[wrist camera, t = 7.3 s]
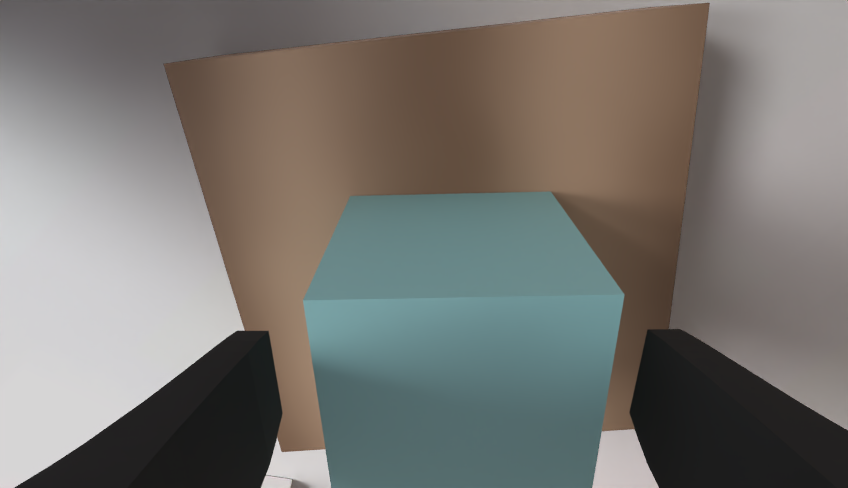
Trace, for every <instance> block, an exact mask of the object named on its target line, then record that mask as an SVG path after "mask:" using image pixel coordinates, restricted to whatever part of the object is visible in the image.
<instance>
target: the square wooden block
mask: <svg viewBox="0 0 848 488" xmlns="http://www.w3.org/2000/svg"><path fill="white" fill-rule="evenodd" d="M709 4H710V3H701V4H687V5H674V6H660V7H648V8H640V9H631V10H622V11H613V12H604V13H595V14H586V15H577V16H568V17H559V18H550V19H541V20H532V21H523V22H514V23H506V24H497V25H488V26H479V27H470V28H461V29H452V30H443V31H434V32H425V33H416V34H407V35H398V36H389V37H381V38H372V39H363V40H354V41H345V42H336V43H327V44H318V45H309V46H300V47H291V48H282V49H273V50H264V51H256V52H247V53H238V54H229V55H220V56H212V57H206V58H199V59H192V60H186V61H179V62H172V63H166V64H164V67H165V71H166V74H167V77H168V80H169V84H170V87H171V90H172V93H173V97H174V100H175V103H176V107H177V110H178V113H179V116H180V120H181V123H182V126H183V129H184V133H185V136H186V139H187V143H188V146H189V149H190V152H191V156H192V159H193V162H194V166H195V169H196V172H197V175H198V179H199V182H200V185H201V188H202V192H203V195H204V198H205V202H206V205H207V208H208V211H209V215H210V218H211V221H212V225H213V228H214V231H215V234H216V238H217V241H218V244H219V247H220V251H221V254H222V257H223V261H224V264H225V267H226V270H227V274H228V277H229V280H230V284H231V287H232V290H233V293H234V297H235V300H236V303H237V306H238V310H239V313H240V316H241V320H242V323H243V326H244V329H245V331H269V336H270V342H271V347H272V353H273V359H274V365H275V371H276V377H277V382H278V388H279V394H280V400H281V406H282V412H283V414H282V418H281V422H280V426H279V431H278V435H277V438H278V441H279V444H280V447H281V451H282V452H289V451H304V450H320V449H325V442H324V436H323V429H322V423H321V416H320V410H319V403H318V396H317V390H316V383H315V377H314V370H313V364H312V357H311V350H310V344H309V337H308V331H307V324H306V318H305V311H304V305H303V299H304V297H305V295H306V292H307V290H308V288H309V286H310V284H311V281H312V279H313V277H314V275H315V273H316V270H317V268H318V266H319V264H320V262H321V259H322V257H323V255H324V253H325V251H326V248H327V246H328V244H329V242H330V239H331V237H332V235H333V233H334V231H335V228H336V226H337V224H338V222H339V220H340V217H341V215H342V213H343V211H344V209H345V206H346V204H347V202H348V200H349V198H350V196H373V195H418V194H463V193H507V192H552V194H553V195H554V197H555V198H556V199H557V201H558V202H559V204H560V205H561V206H562V208H563V209H564V211H565V212H566V213H567V215H568V216H569V218H570V219H571V220H572V222H573V223H574V225H575V226H576V227H577V229H578V230H579V232H580V233H581V234H582V236H583V237H584V239H585V240H586V241H587V243H588V244H589V246H590V247H591V248H592V250H593V251H594V253H595V254H596V255H597V257H598V258H599V260H600V261H601V262H602V264H603V265H604V267H605V268H606V269H607V271H608V272H609V274H610V275H611V276H612V278H613V279H614V281H615V282H616V283H617V285H618V286H619V288H620V289H621V290H622V292H623V293H624V301H623V307H622V313H621V319H620V325H619V331H618V337H617V342H616V348H615V354H614V360H613V366H612V372H611V378H610V384H609V390H608V396H607V402H606V408H605V414H604V420H603V426H602V431H611V430H626V429H635V428H634V425H633V422H632V419H631V416H630V413H629V412H630V407H631V402H632V398H633V393H634V389H635V384H636V380H637V375H638V370H639V366H640V361H641V357H642V352H643V347H644V343H645V338H646V334H647V329H669V322H670V314H671V306H672V298H673V290H674V282H675V274H676V266H677V258H678V250H679V242H680V235H681V227H682V219H683V211H684V203H685V195H686V187H687V179H688V171H689V163H690V155H691V147H692V139H693V131H694V123H695V115H696V108H697V100H698V92H699V84H700V76H701V68H702V60H703V52H704V44H705V36H706V28H707V20H708V12H709Z"/></svg>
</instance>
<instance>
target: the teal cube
mask: <svg viewBox="0 0 848 488" xmlns="http://www.w3.org/2000/svg"><path fill="white" fill-rule="evenodd" d="M623 301H624V293H623V292H622V290H621V289H620V288H619V286H618V285H617V283H616V282H615V281H614V279H613V278H612V276H611V275H610V274H609V272H608V271H607V269H606V268H605V267H604V265H603V264H602V262H601V261H600V260H599V258H598V257H597V255H596V254H595V253H594V251H593V250H592V248H591V247H590V246H589V244H588V243H587V241H586V240H585V239H584V237H583V236H582V234H581V233H580V232H579V230H578V229H577V227H576V226H575V225H574V223H573V222H572V220H571V219H570V218H569V216H568V215H567V213H566V212H565V211H564V209H563V208H562V206H561V205H560V204H559V202H558V201H557V199H556V198H555V197H554V195H553V194H552V192H507V193H463V194H418V195H373V196H350V198H349V200H348V202H347V204H346V206H345V209H344V211H343V213H342V215H341V217H340V220H339V222H338V224H337V226H336V228H335V231H334V233H333V235H332V237H331V239H330V242H329V244H328V246H327V248H326V251H325V253H324V255H323V257H322V259H321V262H320V264H319V266H318V268H317V270H316V273H315V275H314V277H313V279H312V281H311V284H310V286H309V288H308V290H307V292H306V295H305V297H304V299H303V305H304V311H305V318H306V324H307V331H308V337H309V344H310V350H311V357H312V364H313V370H314V377H315V383H316V390H317V396H318V403H319V410H320V416H321V423H322V429H323V436H324V442H325V449H326V455H327V462H328V469H329V475H330V482H331V488H592V485H593V479H594V473H595V467H596V461H597V455H598V449H599V444H600V438H601V432H602V426H603V420H604V414H605V408H606V402H607V396H608V390H609V384H610V378H611V372H612V366H613V360H614V354H615V348H616V342H617V337H618V331H619V325H620V319H621V313H622V307H623Z"/></svg>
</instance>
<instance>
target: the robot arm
mask: <svg viewBox="0 0 848 488" xmlns="http://www.w3.org/2000/svg"><path fill="white" fill-rule="evenodd" d="M629 413H630V416H631V419H632V422H633V425H634V428H635V431H636V434H637V437H638V440H639V442H640V445H641V448H642V450H643V453H644V456H645V458H646V461H647V464H648V466H649V468H650V470H651V472H652V474H653V476H654V478H655V480H656V482H657V484H658V486H659V488H848V430H846V429H844V428H842V427H841V426H839V425H837V424H835V423H834V422H832V421H830V420H829V419H827V418H825V417H823V416H822V415H820V414H818V413H817V412H815V411H813V410H812V409H810V408H808V407H807V406H805V405H803V404H802V403H800V402H798V401H797V400H795V399H793V398H792V397H790V396H789V395H787V394H785V393H784V392H782V391H780V390H779V389H777V388H776V387H774V386H772V385H771V384H769V383H768V382H766V381H764V380H763V379H761V378H760V377H758V376H756V375H755V374H753V373H752V372H750V371H749V370H747V369H745V368H744V367H742V366H741V365H739V364H737V363H736V362H734V361H733V360H731V359H729V358H728V357H726V356H725V355H723V354H721V353H720V352H718V351H717V350H715V349H713V348H712V347H710V346H709V345H707V344H705V343H704V342H702V341H700V340H699V339H697V338H695V337H693V336H692V335H690V334H688V333H686V332H684V331H682V330H680V329H647V334H646V338H645V343H644V347H643V352H642V357H641V361H640V366H639V370H638V375H637V380H636V384H635V389H634V393H633V398H632V402H631V407H630V412H629ZM282 414H283V412H282V406H281V400H280V394H279V388H278V382H277V377H276V371H275V365H274V359H273V353H272V347H271V342H270V336H269V331H236V332H235V333H233V334H232V335H230V336H229V337H227V338H226V339H225V340H223V341H222V342H221V343H219V344H218V345H217V346H215V347H214V348H213V349H212V350H210V351H209V352H208V353H206V354H205V355H204V356H203V357H201V358H200V359H199V360H197V361H196V362H195V363H194V364H192V365H191V366H190V367H188V368H187V369H186V370H185V371H183V372H182V373H181V374H179V375H178V376H177V377H175V378H174V379H173V380H171V381H170V382H169V383H168V384H166V385H165V386H164V387H162V388H161V389H160V390H158V391H157V392H156V393H154V394H153V395H152V396H151V397H149V398H148V399H147V400H145V401H144V402H142V403H141V404H140V405H138V406H137V407H135V408H134V409H133V410H131V411H130V412H128V413H127V414H125V415H124V416H123V417H121V418H120V419H118V420H117V421H116V422H114V423H113V424H111V425H110V426H109V427H107V428H106V429H104V430H103V431H101V432H100V433H99V434H97V435H96V436H94V437H93V438H92V439H90V440H89V441H87V442H86V443H84V444H83V445H81V446H80V447H78V448H77V449H75V450H74V451H72V452H71V453H69V454H68V455H66V456H65V457H63V458H62V459H60V460H58V461H57V462H55V463H54V464H52V465H51V466H49V467H48V468H46V469H44V470H43V471H41V472H39V473H38V474H36V475H34V476H33V477H31V478H30V479H28V480H26V481H25V482H23V483H21V484H20V485H18V486H16V487H15V488H261V486H262V483H263V481H264V478H265V476H266V473H267V470H268V468H269V465H270V462H271V458H272V454H273V450H274V447H275V443H276V439H277V435H278V431H279V426H280V422H281V418H282Z"/></svg>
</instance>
